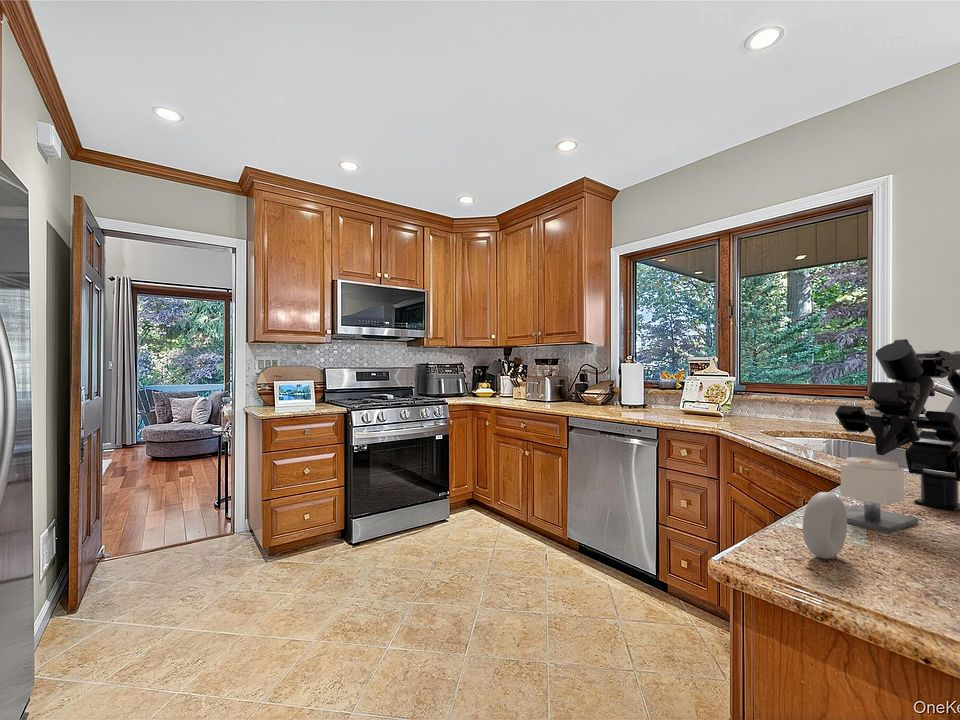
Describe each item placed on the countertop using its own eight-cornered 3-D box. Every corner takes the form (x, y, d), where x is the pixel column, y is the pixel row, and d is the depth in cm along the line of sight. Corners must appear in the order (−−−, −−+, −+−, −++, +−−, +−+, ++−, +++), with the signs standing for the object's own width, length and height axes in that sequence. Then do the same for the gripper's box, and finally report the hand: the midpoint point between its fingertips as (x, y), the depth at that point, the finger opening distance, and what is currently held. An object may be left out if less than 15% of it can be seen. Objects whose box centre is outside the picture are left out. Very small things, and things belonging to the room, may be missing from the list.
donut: (826, 569, 65) (825, 499, 66) (798, 561, 68) (798, 494, 68) (851, 554, 71) (850, 490, 71) (825, 547, 74) (824, 485, 74)
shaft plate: (857, 509, 94) (857, 477, 94) (917, 523, 86) (917, 488, 86) (826, 517, 89) (826, 483, 89) (887, 533, 80) (887, 495, 80)
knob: (858, 490, 92) (857, 455, 92) (906, 500, 85) (906, 461, 85) (838, 495, 88) (837, 458, 88) (887, 505, 81) (886, 465, 82)
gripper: (839, 368, 100) (809, 420, 95) (957, 368, 83) (928, 431, 78) (859, 404, 103) (831, 455, 98) (976, 410, 86) (949, 474, 81)
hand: (879, 453), depth 88 cm, fingers closed
